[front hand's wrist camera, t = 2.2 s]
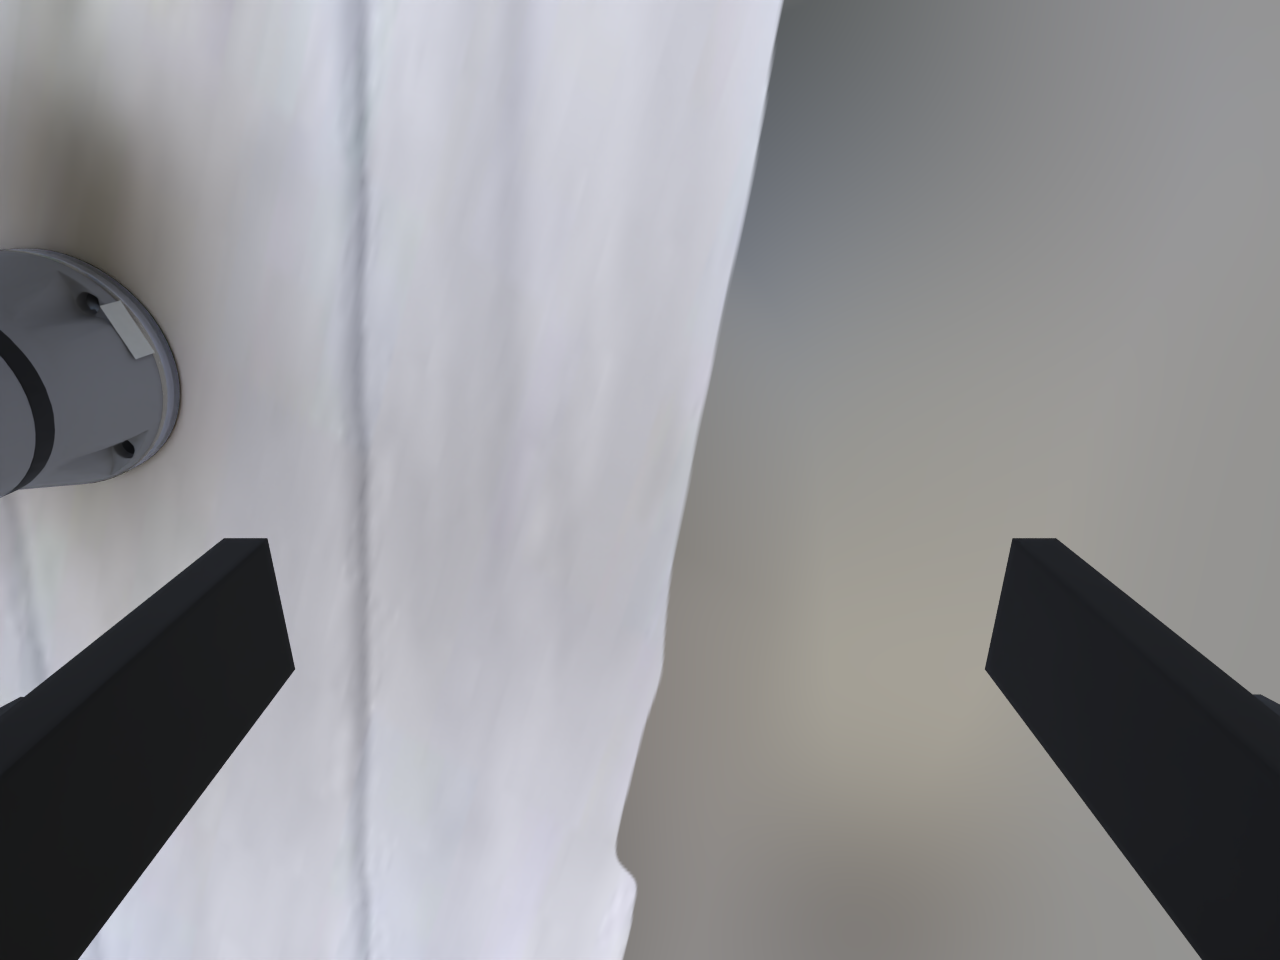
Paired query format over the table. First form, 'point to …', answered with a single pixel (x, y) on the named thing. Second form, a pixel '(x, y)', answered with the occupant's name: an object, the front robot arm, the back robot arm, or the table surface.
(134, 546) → the table surface
